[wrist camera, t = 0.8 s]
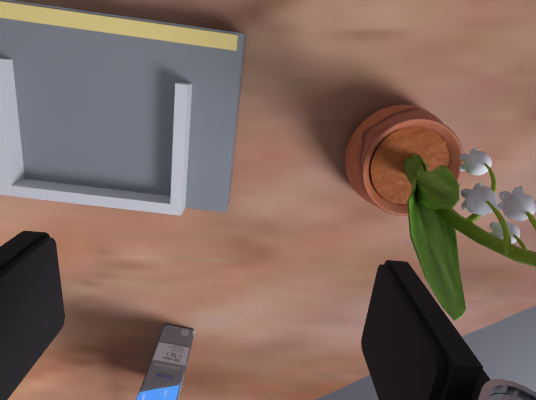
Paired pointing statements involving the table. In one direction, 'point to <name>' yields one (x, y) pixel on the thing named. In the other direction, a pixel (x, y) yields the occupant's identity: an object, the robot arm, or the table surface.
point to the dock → (117, 109)
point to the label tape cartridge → (167, 365)
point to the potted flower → (433, 193)
